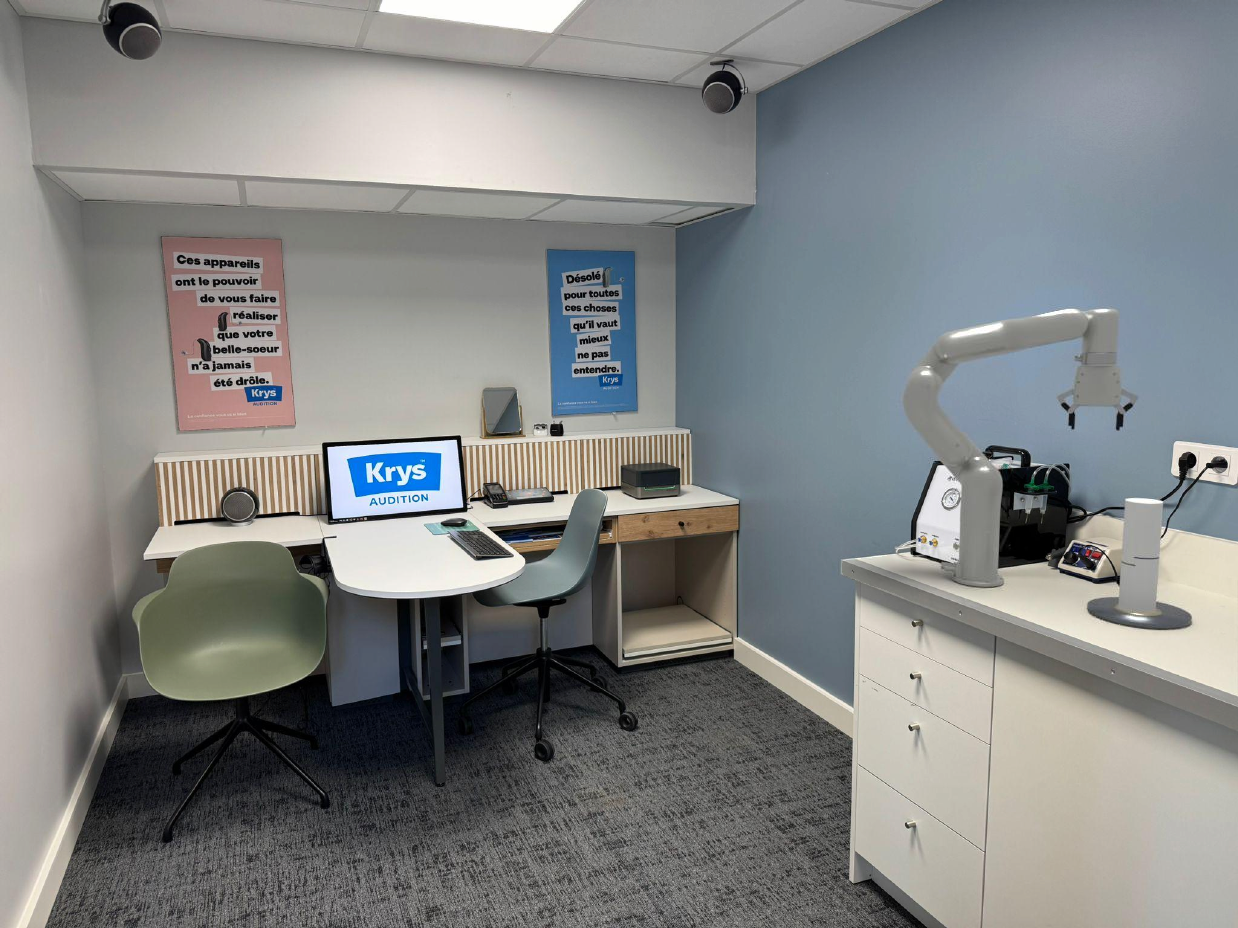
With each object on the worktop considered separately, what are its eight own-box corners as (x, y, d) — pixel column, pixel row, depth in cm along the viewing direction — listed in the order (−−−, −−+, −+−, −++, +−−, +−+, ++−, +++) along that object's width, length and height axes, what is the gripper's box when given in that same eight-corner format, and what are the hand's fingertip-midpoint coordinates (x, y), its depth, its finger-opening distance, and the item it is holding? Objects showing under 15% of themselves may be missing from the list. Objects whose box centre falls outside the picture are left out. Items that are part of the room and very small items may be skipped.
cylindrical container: (1154, 616, 180) (1161, 504, 177) (1116, 610, 184) (1123, 501, 181) (1156, 607, 186) (1164, 499, 182) (1120, 602, 190) (1127, 497, 187)
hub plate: (1087, 621, 181) (1087, 616, 181) (1086, 597, 198) (1086, 592, 198) (1196, 634, 171) (1197, 628, 171) (1186, 608, 189) (1186, 603, 188)
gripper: (1058, 361, 201) (1055, 430, 203) (1141, 359, 192) (1137, 431, 194) (1059, 360, 207) (1055, 427, 209) (1139, 359, 199) (1135, 429, 201)
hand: (1095, 429), depth 202 cm, fingers open, 9 cm apart
